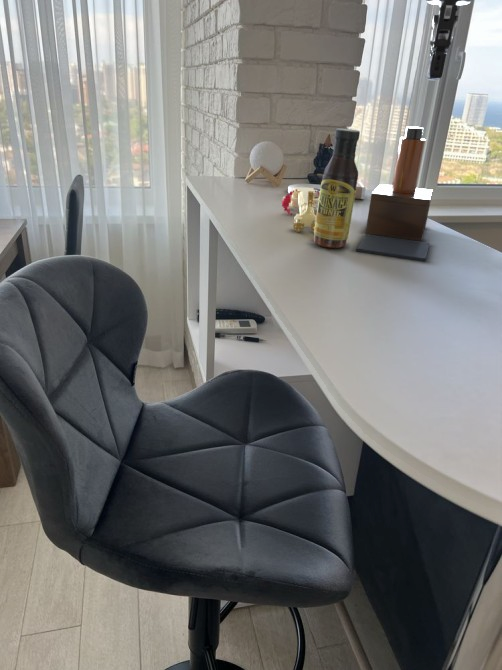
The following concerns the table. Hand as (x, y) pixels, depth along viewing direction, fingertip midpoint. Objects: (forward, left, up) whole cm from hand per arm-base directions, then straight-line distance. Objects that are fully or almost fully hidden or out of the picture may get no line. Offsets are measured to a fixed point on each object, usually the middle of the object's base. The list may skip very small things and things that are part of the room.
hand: (433, 79), depth 90 cm
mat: (+1, +11, -28) cm, 30 cm away
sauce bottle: (+12, +15, -28) cm, 34 cm away
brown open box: (+2, -3, -28) cm, 28 cm away
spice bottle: (+2, -3, -20) cm, 21 cm away
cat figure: (+22, -3, -28) cm, 36 cm away
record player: (+24, -33, -28) cm, 50 cm away
